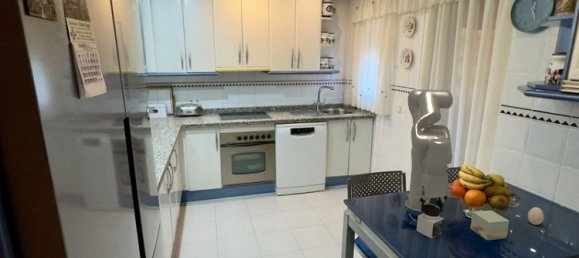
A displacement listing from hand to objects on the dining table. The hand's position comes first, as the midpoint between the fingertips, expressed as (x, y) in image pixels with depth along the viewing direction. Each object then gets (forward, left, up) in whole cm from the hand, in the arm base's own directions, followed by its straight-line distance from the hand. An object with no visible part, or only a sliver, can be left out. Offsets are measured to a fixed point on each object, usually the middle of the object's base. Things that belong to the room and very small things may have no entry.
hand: (431, 211), depth 127 cm
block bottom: (+5, +24, -10) cm, 26 cm away
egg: (+3, +50, -10) cm, 51 cm away
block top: (+5, +24, -6) cm, 25 cm away
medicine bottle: (0, 0, -10) cm, 10 cm away
